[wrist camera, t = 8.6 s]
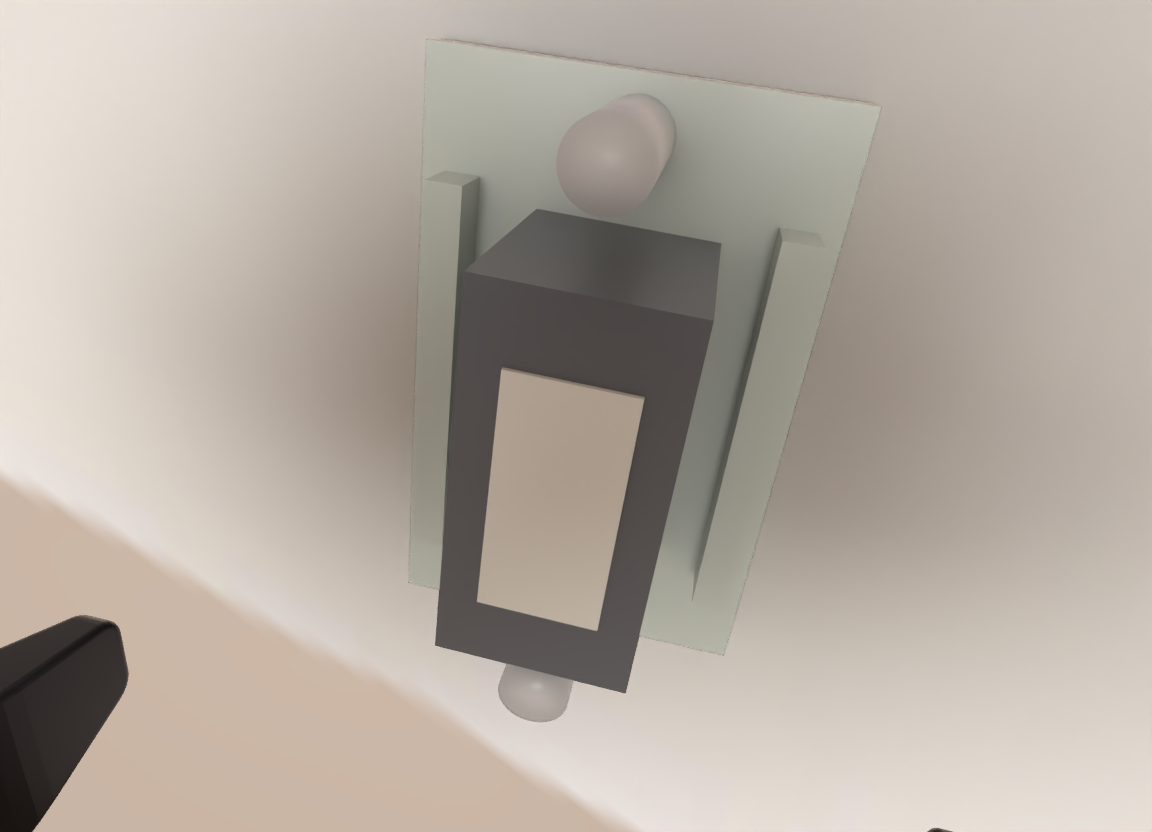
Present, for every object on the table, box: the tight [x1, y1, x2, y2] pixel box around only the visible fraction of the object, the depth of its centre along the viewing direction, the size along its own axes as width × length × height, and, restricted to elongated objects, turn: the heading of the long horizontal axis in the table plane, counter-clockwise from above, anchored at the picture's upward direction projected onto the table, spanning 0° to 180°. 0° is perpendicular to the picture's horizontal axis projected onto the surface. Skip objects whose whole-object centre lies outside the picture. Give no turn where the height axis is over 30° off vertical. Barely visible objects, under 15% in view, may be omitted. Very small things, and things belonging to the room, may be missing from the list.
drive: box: [435, 209, 721, 693], centre depth 16 cm, size 4×8×5 cm, turn 172°
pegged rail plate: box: [408, 39, 882, 722], centre depth 17 cm, size 9×14×5 cm, turn 173°
